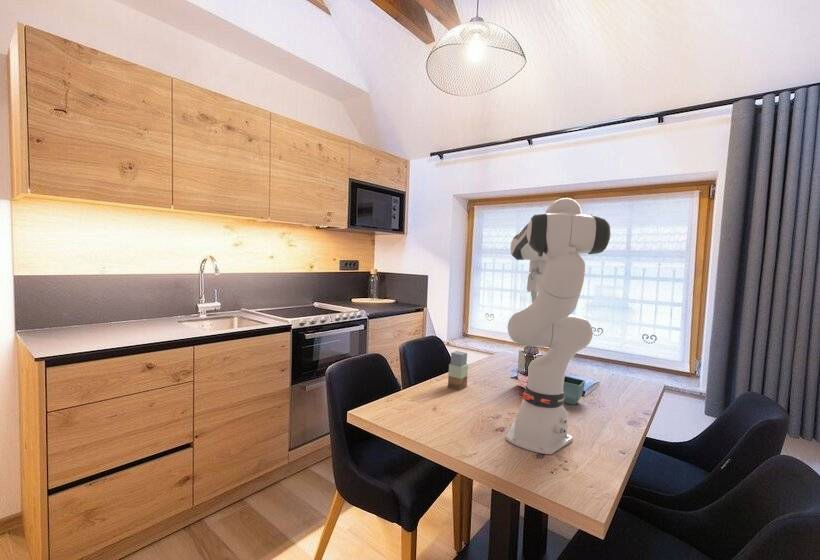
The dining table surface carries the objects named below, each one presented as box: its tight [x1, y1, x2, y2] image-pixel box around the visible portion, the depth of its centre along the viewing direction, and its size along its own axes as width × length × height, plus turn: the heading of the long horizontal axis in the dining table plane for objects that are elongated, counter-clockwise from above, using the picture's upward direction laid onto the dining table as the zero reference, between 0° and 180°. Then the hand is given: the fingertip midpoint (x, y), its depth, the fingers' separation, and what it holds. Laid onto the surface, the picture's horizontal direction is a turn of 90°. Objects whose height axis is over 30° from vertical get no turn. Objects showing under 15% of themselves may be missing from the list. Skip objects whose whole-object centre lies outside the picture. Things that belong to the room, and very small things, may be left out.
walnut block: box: [447, 375, 468, 391], centre depth 163 cm, size 6×6×5 cm
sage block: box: [448, 363, 469, 379], centre depth 163 cm, size 6×6×5 cm
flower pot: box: [563, 375, 586, 406], centre depth 152 cm, size 9×9×9 cm
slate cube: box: [450, 350, 468, 367], centre depth 163 cm, size 5×5×5 cm
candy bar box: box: [516, 349, 544, 377], centre depth 166 cm, size 11×5×16 cm, turn 23°
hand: (538, 302), depth 155 cm, fingers open, 8 cm apart
